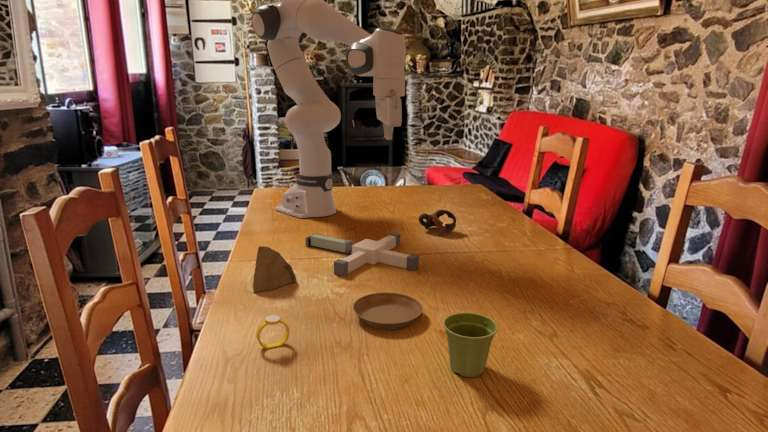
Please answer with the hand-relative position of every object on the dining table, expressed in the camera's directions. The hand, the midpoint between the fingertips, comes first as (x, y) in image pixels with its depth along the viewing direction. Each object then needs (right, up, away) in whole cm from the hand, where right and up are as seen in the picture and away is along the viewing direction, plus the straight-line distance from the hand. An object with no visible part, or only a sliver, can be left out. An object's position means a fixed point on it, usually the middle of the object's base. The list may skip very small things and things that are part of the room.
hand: (388, 139), depth 148 cm
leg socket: (-21, -31, +5) cm, 38 cm away
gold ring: (-22, -47, -49) cm, 71 cm away
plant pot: (+14, -49, -56) cm, 75 cm away
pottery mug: (+16, -27, +20) cm, 37 cm away
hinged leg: (-16, -31, +2) cm, 35 cm away
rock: (-27, -39, -23) cm, 53 cm away
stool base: (-1, -34, -6) cm, 35 cm away
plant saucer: (0, -44, -37) cm, 57 cm away
